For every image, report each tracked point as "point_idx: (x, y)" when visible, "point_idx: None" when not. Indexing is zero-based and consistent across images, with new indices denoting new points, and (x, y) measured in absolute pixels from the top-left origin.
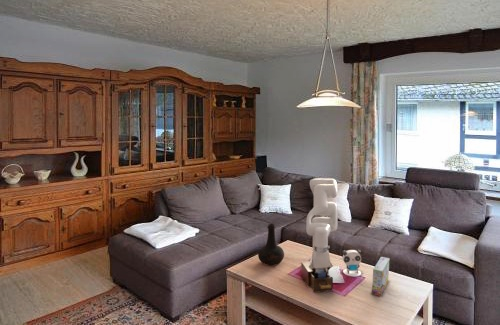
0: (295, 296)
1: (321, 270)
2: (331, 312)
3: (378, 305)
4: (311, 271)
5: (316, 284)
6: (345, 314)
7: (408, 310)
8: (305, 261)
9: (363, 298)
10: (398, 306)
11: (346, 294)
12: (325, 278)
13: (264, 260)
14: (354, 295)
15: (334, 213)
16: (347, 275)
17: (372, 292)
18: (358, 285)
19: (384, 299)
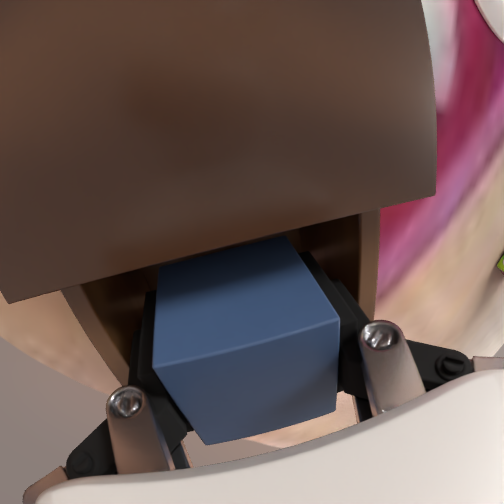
0: (28, 346)
1: (284, 369)
2: (247, 437)
3: (458, 346)
4: (57, 289)
5: None
6: (305, 432)
7: (499, 344)
8: None
9: (447, 310)
10: (497, 332)
11: (396, 287)
12: None
13: None
14: (429, 290)
15: None
16: (481, 13)
17: (502, 272)
18: (496, 166)
19: (499, 298)
